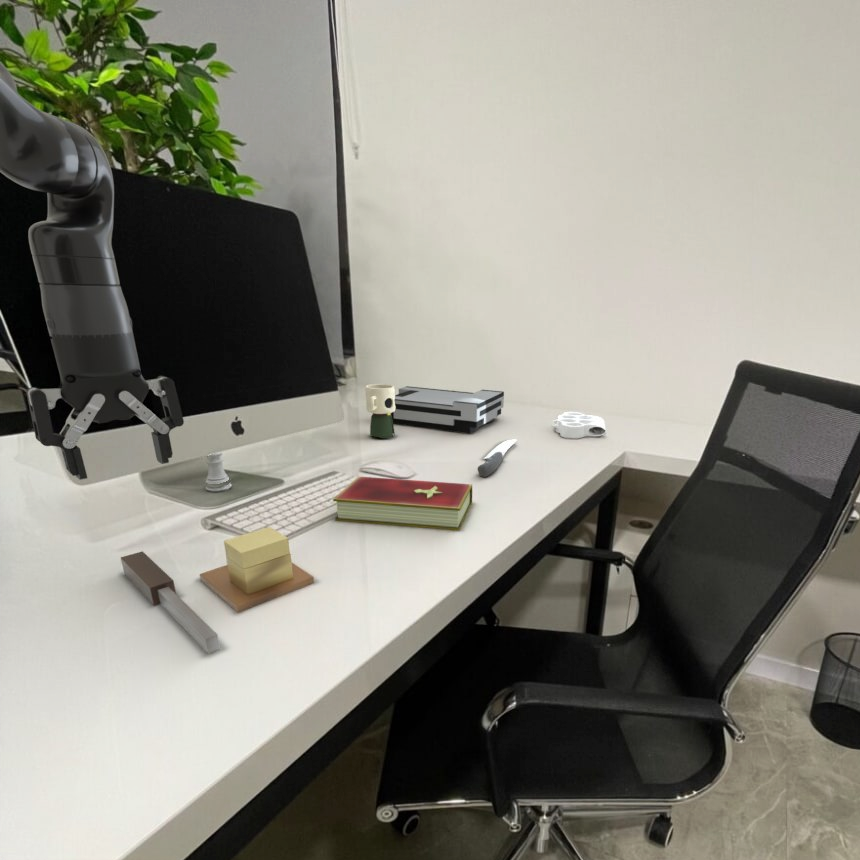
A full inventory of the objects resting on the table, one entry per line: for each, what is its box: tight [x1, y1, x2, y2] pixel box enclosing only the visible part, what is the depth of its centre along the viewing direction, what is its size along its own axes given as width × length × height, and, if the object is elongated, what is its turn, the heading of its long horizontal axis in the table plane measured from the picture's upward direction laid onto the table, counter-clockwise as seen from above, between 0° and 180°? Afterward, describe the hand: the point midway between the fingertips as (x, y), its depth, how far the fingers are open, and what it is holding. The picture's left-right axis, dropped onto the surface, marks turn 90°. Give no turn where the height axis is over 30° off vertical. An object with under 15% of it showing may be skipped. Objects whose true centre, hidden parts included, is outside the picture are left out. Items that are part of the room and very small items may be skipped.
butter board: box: [199, 553, 315, 613], centre depth 71 cm, size 10×11×4 cm
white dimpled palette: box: [551, 411, 607, 440], centre depth 153 cm, size 3×18×15 cm
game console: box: [391, 385, 505, 434], centre depth 158 cm, size 21×32×8 cm, turn 70°
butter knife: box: [120, 550, 221, 655], centre depth 66 cm, size 3×25×3 cm, turn 48°
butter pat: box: [223, 526, 291, 569], centre depth 69 cm, size 6×5×2 cm
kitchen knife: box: [477, 439, 518, 478], centre depth 127 cm, size 29×3×5 cm
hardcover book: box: [332, 476, 473, 532], centre depth 95 cm, size 12×21×4 cm, turn 83°
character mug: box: [365, 383, 396, 439], centre depth 139 cm, size 11×7×13 cm, turn 167°
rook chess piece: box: [205, 451, 233, 493], centre depth 102 cm, size 4×4×8 cm
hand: (124, 469), depth 66 cm, fingers open, 8 cm apart
